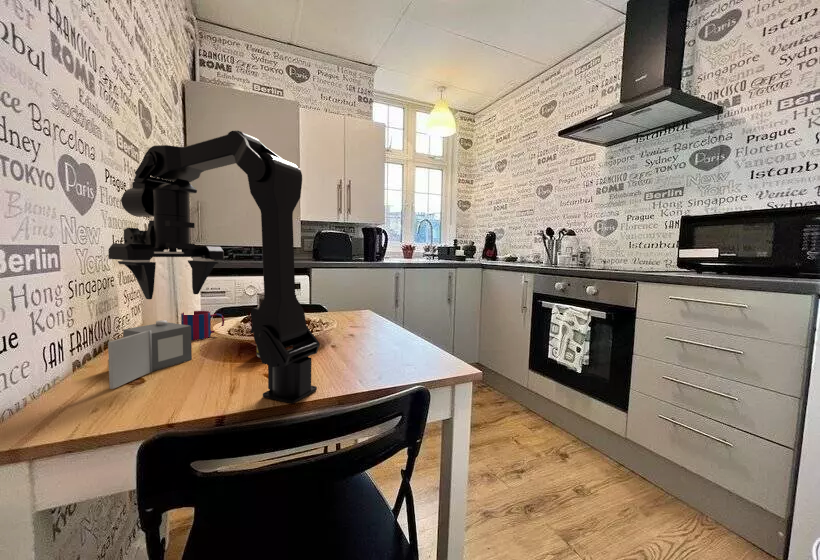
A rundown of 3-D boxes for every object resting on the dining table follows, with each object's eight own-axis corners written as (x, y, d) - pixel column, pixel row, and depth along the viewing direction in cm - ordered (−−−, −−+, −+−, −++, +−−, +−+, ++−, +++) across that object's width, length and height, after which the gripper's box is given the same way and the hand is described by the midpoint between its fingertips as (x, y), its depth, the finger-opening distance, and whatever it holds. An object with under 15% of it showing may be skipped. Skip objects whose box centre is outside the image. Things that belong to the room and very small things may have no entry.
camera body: (192, 359, 74) (191, 322, 74) (147, 373, 66) (146, 330, 65) (166, 354, 77) (165, 318, 76) (120, 366, 68) (119, 326, 68)
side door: (147, 370, 66) (146, 330, 65) (153, 371, 66) (152, 330, 65) (107, 388, 57) (105, 342, 57) (114, 388, 57) (112, 342, 57)
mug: (186, 335, 95) (185, 311, 94) (226, 333, 98) (226, 310, 97) (178, 341, 88) (177, 315, 88) (221, 339, 92) (221, 314, 91)
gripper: (188, 221, 77) (190, 289, 79) (87, 210, 60) (90, 298, 61) (225, 221, 73) (226, 293, 75) (128, 210, 56) (131, 304, 57)
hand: (173, 296), depth 67 cm, fingers open, 9 cm apart
